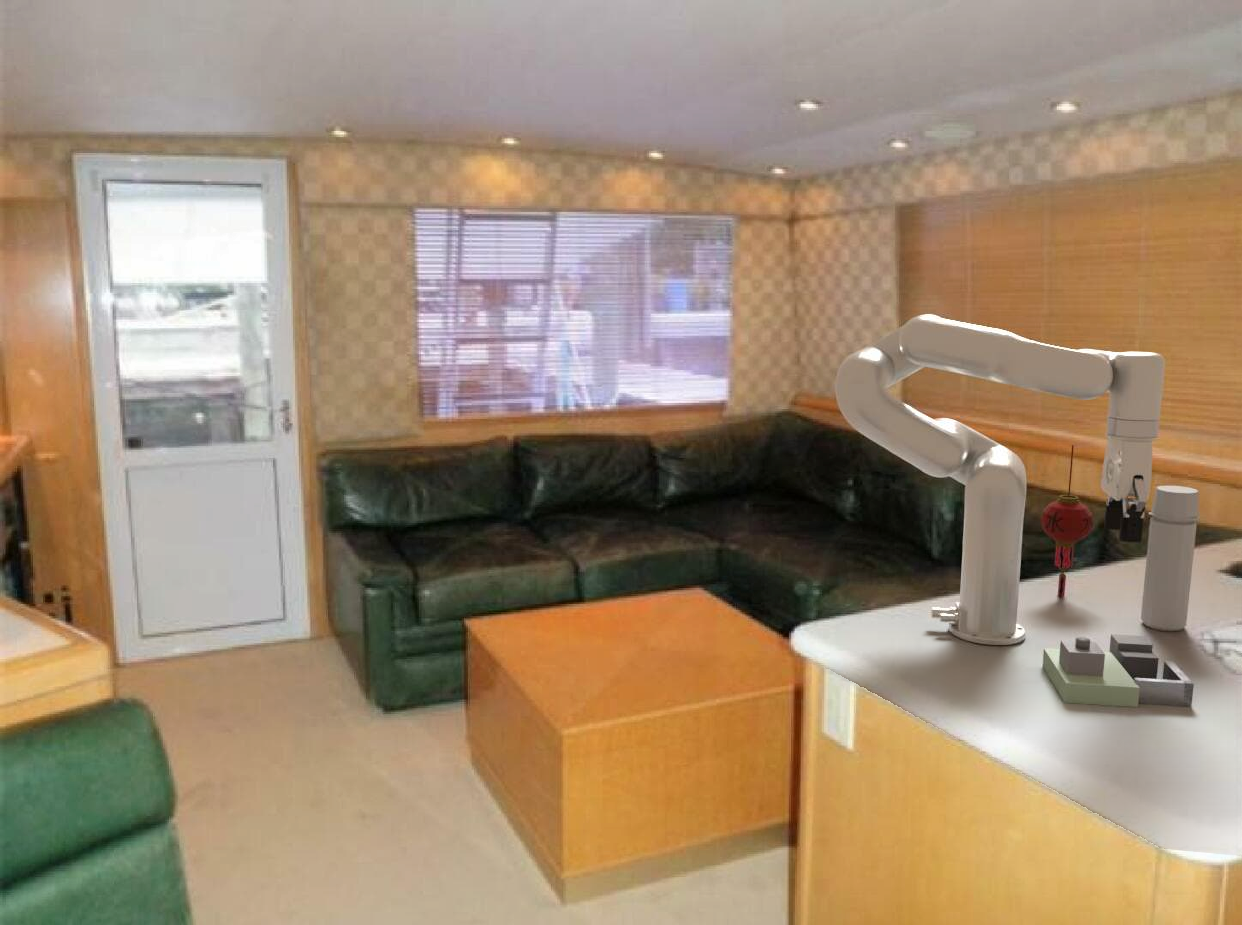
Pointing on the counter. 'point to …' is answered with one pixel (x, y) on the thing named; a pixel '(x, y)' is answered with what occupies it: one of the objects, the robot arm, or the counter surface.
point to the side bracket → (1166, 688)
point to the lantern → (1066, 528)
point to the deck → (1089, 675)
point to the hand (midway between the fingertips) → (1122, 534)
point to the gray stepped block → (1135, 655)
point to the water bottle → (1170, 557)
